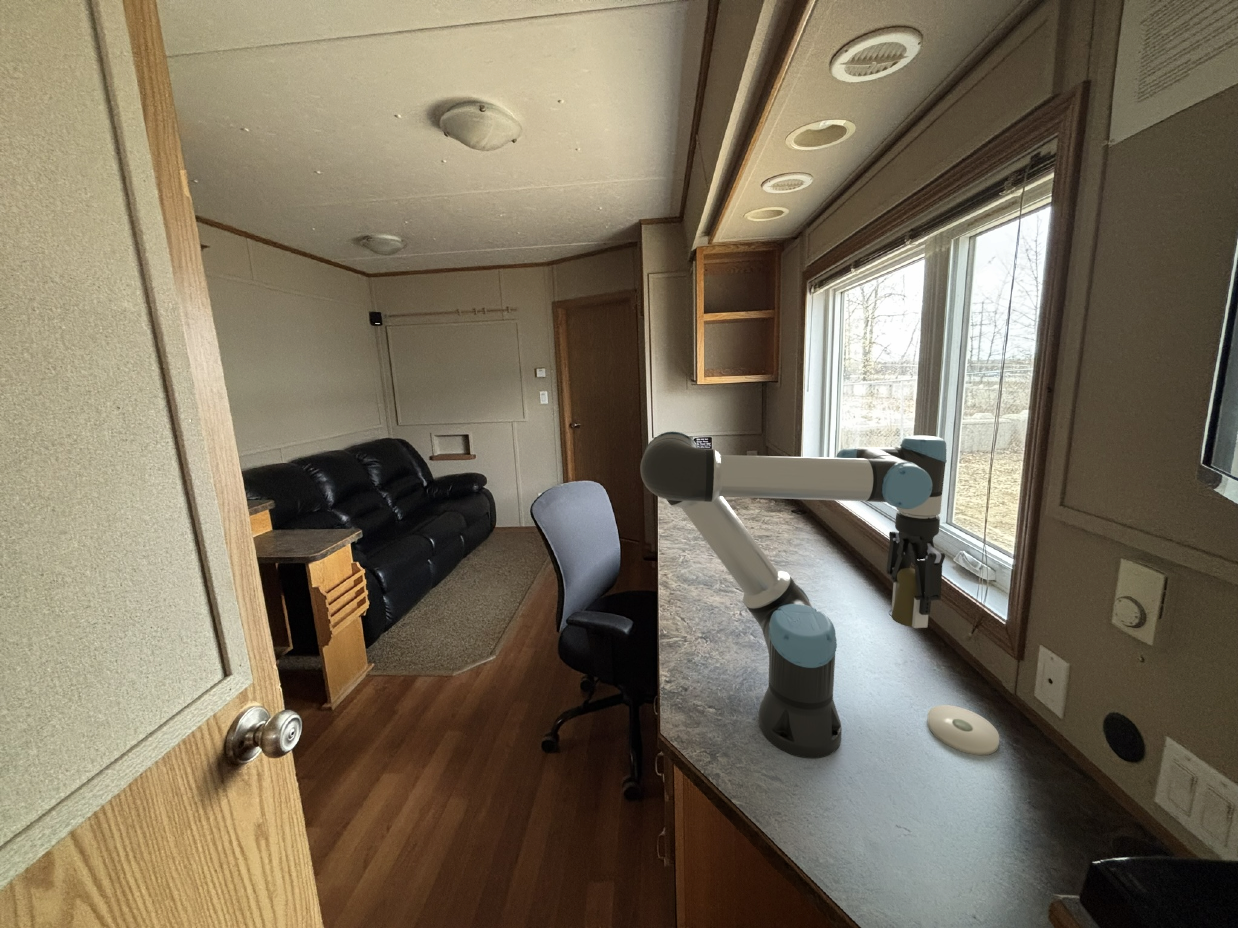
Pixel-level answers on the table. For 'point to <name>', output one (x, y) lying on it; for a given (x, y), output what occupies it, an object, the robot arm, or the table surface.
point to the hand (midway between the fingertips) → (908, 618)
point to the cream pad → (963, 730)
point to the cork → (905, 597)
